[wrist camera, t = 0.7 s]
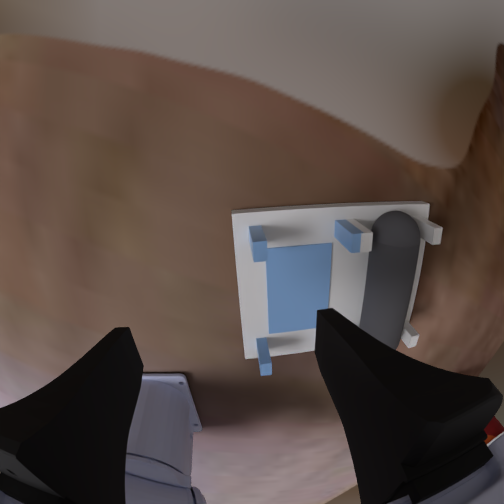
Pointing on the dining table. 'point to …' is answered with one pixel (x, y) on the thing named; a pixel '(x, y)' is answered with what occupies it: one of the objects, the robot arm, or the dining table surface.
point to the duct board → (309, 270)
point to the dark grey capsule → (390, 276)
